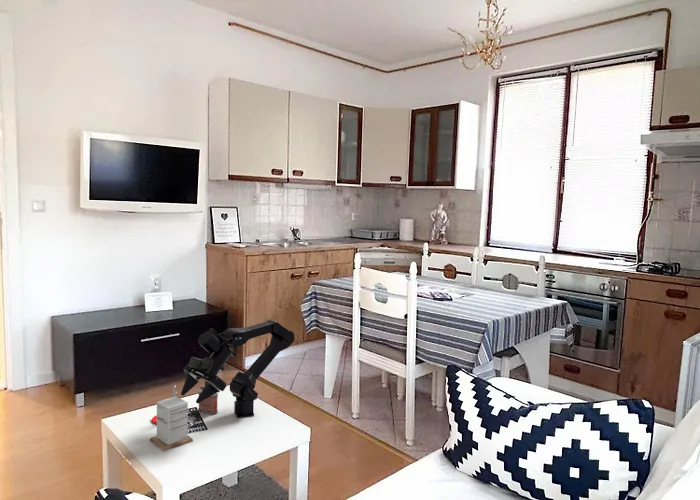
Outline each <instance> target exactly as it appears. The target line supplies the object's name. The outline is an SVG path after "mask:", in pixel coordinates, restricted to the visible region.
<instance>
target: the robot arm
mask: <svg viewBox="0 0 700 500" xmlns="http://www.w3.org/2000/svg"><path fill="white" fill-rule="evenodd" d="M267 334H270V335H271V336H270V337H271V338H270V343H269V345H268V346H267V347H266V348H265V349H264V350H263V351H262V353H261V354H260V355H259V356H258V357H257V358H256V360H255V361H254V362H253V363H252V364H251V366H250V367H248V369H247V370H246V371H244V372H242V371H238V372H237V373H236V375H234V377H233V378H231V381H230V383H229V391H230V393H231V395H232V397H234V398H235V401H234V402H233V403H234V404H233V412H234V415H236V417H235V418H238V419H239V418H247V417H255V412H254V406H255V405H254V402H255V401H256V400H258V396H259V393H258V392H257V391H256V390H254V389H255V387H256V383H257V380H258V378H259V377H260V376H261V375H262V373H263V372H264V371H265V370H266V369H267V368H268V366H269V365H270V364H271V363H272V361H273V360H274V359H275V358H276V357H277V355H278V354H279V353H280V352H282V351H284V350H286V349H288V348H289V347H290V346H292V344H294V341H295V339H296V338H295V332H294V331H292V330H289V329H288V328H286V327H284V326H283V325H281V324H280V323H279V322H278V321H276V320H273V319H269V320H267V321H263V322H261V323H257V324H252V325H249V326H247V327H233V328H232V327H231V328H227V329H225V330H224V331H223V332H221V333H217V331H216V330H215V329H214V328H209V329H208V330H206V331H204V332H203V333H201V334H200V335H199V337H198V339H197V343H198V345H200V347H202V348H203V349H204V350H205V351H206V352H207V353H209V354H210V356H209V357H208V356H206V357H203V358H199V357H194V356H191V357H190V359H189V362H188V364H186V365H185V366H184V367H183V371H184V372H183V373H184V376H185V380H184V383H183V386H182V389H181V392H180V395H181V396H185V395H186V394H188V393H189V391H191V390H192V389H193V388H194V387H195V386H197V384H198V383H199V380H204V386H205V387H204V389H203V390H202V389H201V391H202V392H201V393H200V395H199V394H198V397H197V398H196V401H195V403H196V404H199V403H200V402H202V401H203V400H205V399H206V398H208V397H210V396H212V395H214V394H215V393H220V392H224V391H225V389H226V388H227V383H226V381H224V380H223V379H222V378H221V377H220V376H218V373H219V372H220V371H222V372H223V371H224V369H225V368H224V365H225V364H226V362H227V361H228V360H229V358H230V356H231V357H234V358H235V357H237V353H236V348H240V347H242V346H243V345H245V344H246V343H247V342H248V341H250V340H252V339H254V338H255V339H256V338H257V337H260V336H264V335H267ZM230 346H231V347H230ZM233 347H234V348H233Z"/></svg>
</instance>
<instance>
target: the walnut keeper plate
mask: <svg viewBox="0 0 700 500" xmlns="http://www.w3.org/2000/svg"><path fill="white" fill-rule="evenodd" d="M149 441H150V442H151V443H153V445H155V446H157V447H158V448H159V449H161V450H162V451H163V452H166V451H169V450H172V449H175V448H177V447H180V446H183V445H186V444H188V443H191V442H192V443H193V441H194V439H193V438H192V437H191V436H189V435H188V434H187V438H186V439H184V440H181V441H178V442H176V443H173V444H170V445H167V444H166V443H164V442H163V441H161V440H160V439H158V438H157V435H154V436H151V437H150V438H149Z"/></svg>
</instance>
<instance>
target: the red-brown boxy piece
mask: <svg viewBox="0 0 700 500" xmlns="http://www.w3.org/2000/svg"><path fill="white" fill-rule="evenodd" d="M204 387H205V385H200V386H199V389H200V390H198V394H197V395H198V396H199V395H200V393H201V392H202V390H203V389H204ZM218 398H219V392H217V393H215V394H214V395H212V396H210V397H208V398H206V399H205V400H203V401H202V402H200V403H198V408H197V412H198V413H201V414H206V415H211V416H215V415H218V413H219V411H218Z"/></svg>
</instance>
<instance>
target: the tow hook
mask: <svg viewBox="0 0 700 500" xmlns="http://www.w3.org/2000/svg"><path fill="white" fill-rule="evenodd" d="M172 390H173V391H172V397H175V396H176V397H178V396H177V393H178V392H177V387H176V385H173V389H172ZM151 423H152V424H155V425H157V414H156V415H154V416H153V417H152V418H151Z"/></svg>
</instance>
